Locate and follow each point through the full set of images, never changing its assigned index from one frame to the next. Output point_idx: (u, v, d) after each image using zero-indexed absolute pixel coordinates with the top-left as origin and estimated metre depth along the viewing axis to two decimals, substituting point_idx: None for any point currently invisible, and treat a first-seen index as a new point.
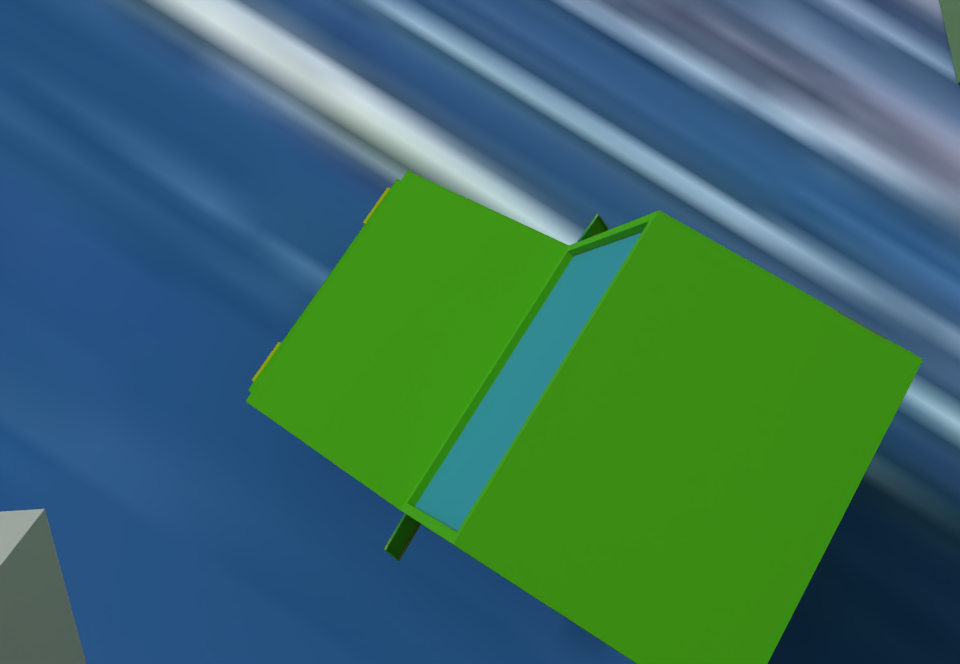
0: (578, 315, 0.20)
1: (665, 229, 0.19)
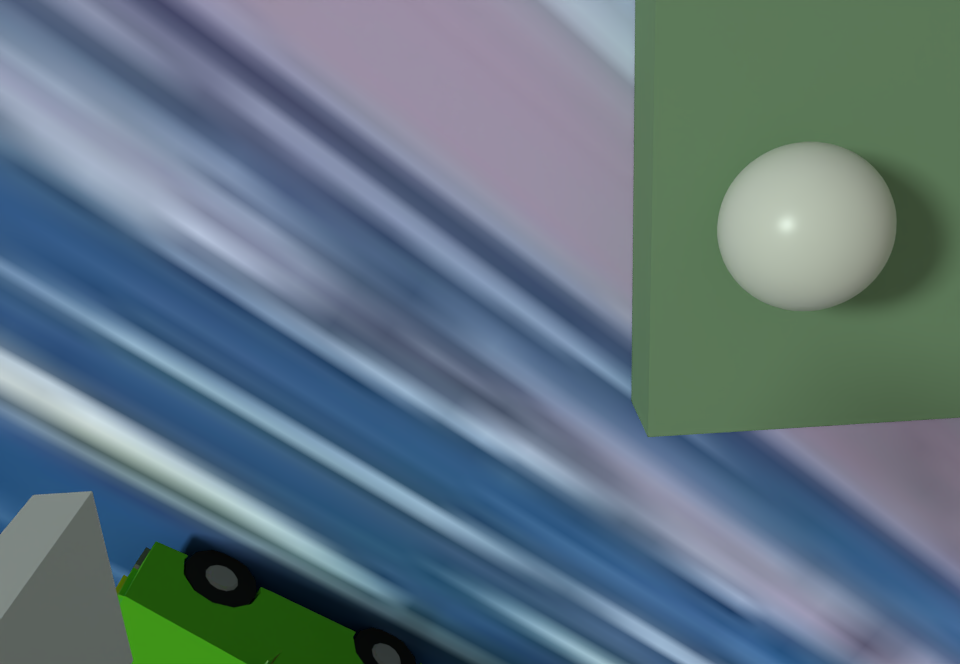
0: None
1: None
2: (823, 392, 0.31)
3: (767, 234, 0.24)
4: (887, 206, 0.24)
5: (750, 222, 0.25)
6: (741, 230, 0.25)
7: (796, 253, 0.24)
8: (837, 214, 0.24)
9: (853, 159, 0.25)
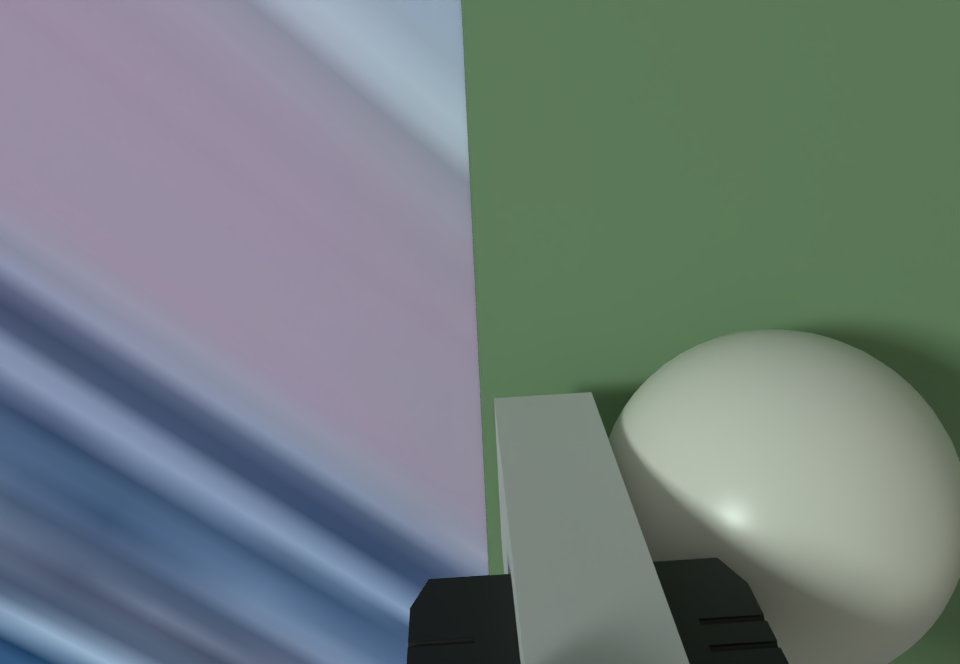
0: None
1: None
2: None
3: None
4: (955, 503, 0.11)
5: (651, 526, 0.11)
6: None
7: None
8: (845, 540, 0.10)
9: (879, 393, 0.11)
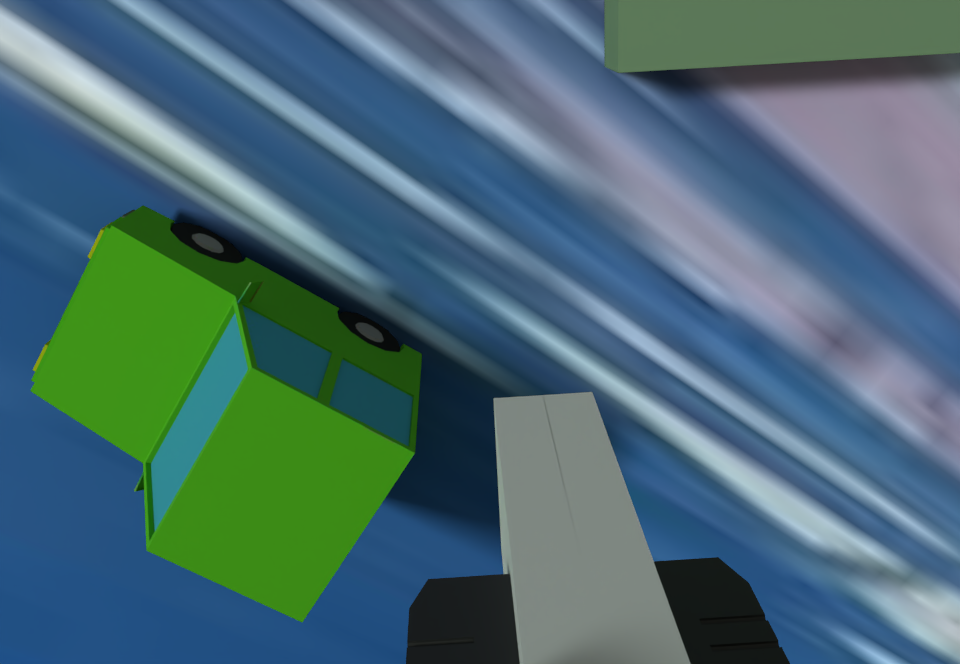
0: (220, 399, 0.31)
1: (256, 379, 0.29)
2: (787, 25, 0.32)
3: None
4: None
5: None
6: None
7: None
8: None
9: None
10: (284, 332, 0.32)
